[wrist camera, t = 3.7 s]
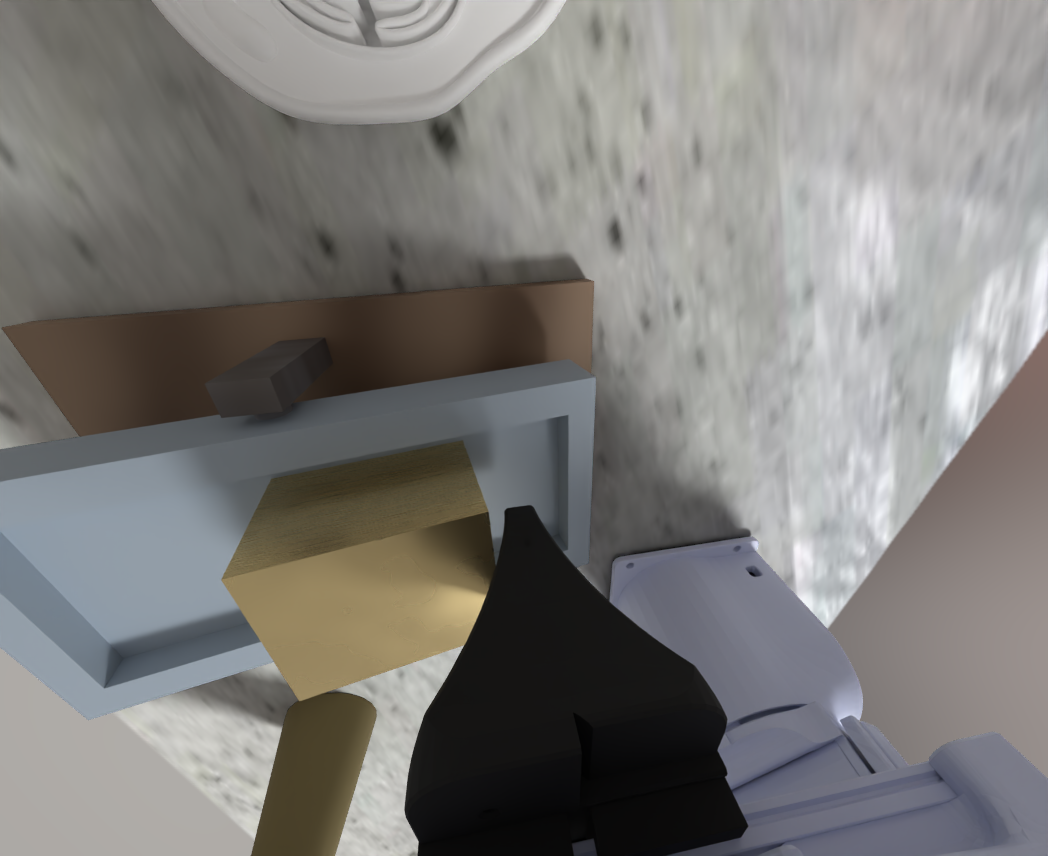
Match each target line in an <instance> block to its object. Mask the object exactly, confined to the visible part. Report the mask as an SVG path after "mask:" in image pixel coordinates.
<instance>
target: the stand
mask: <svg viewBox="0 0 1048 856" xmlns="http://www.w3.org/2000/svg"><path fill="white" fill-rule="evenodd" d="M593 296H594V281H591V280H589V279H576V280H563V281H550V282H537V283H524V284H511V285H498V286H485V287H472V288H459V289H446V290H433V291H420V292H407V293H394V294H381V295H368V296H355V297H342V298H329V299H316V300H303V301H290V302H278V303H265V304H252V305H239V306H226V307H213V308H200V309H187V310H174V311H161V312H148V313H135V314H122V315H109V316H96V317H83V318H70V319H57V320H44V321H32V322H27V323H22V324H17V325H12V326H7V327H2V329H3V331H4V332H5V333H6V335H7V336H8V338H9V339H10V340H11V342H12V343H13V345H14V346H15V347H16V349H17V350H18V352H19V353H20V354H21V356H22V357H23V358H24V360H25V361H26V363H27V364H28V365H29V367H30V368H31V370H32V371H33V372H34V374H35V375H36V377H37V378H38V379H39V381H40V382H41V384H42V385H43V386H44V388H45V389H46V391H47V392H48V393H49V395H50V396H51V397H52V399H53V400H54V402H55V403H56V404H57V406H58V407H59V409H60V410H61V411H62V413H63V414H64V416H65V417H66V418H67V420H68V421H69V423H70V424H71V425H72V427H73V428H74V429H75V431H76V432H77V434H78V435H79V436H80V437H81V436H88V435H94V434H100V433H107V432H113V431H119V430H126V429H132V428H138V427H144V426H151V425H157V424H163V423H170V422H176V421H182V420H189V419H195V418H201V417H207V416H214V415H220V416H221V418H227V417H237V416H246V415H256V414H265V413H275V412H283V411H284V410H285V409H286V408H288V407H289V406H290V405H291V404H292V403H296V402H302V401H308V400H315V399H321V398H327V397H333V396H340V395H346V394H352V393H359V392H365V391H371V390H378V389H384V388H390V387H396V386H403V385H409V384H415V383H422V382H428V381H434V380H441V379H447V378H453V377H459V376H466V375H472V374H478V373H485V372H491V371H497V370H504V369H510V368H516V367H522V366H529V365H535V364H541V363H548V362H554V361H560V360H567V359H570V360H571V361H573V362H574V363H576V364H577V365H579V366H580V367H582V368H583V369H585V370H586V371H588V372H589V373H591V358H592V327H593Z"/></svg>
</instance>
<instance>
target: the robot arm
mask: <svg viewBox="0 0 1048 856" xmlns="http://www.w3.org/2000/svg"><path fill="white" fill-rule="evenodd" d="M504 516H505V518H504V531H503V537H502V543H501V547H500V552H499V556H498V560H497V564H496V567H495V570H494V574H493V577H492V580H491V583H490V586H489V589H488V592H487V595H486V597H485V600H484V603H483V605H482V608H481V610H480V613H479V615H478V617H477V619H476V622H475V624H474V626H473V628H472V631H471V633H470V635H469V637H468V639H467V641H466V643H465V645H464V647H463V649H462V651H461V653H460V654H459V656H458V658H457V660H456V662H455V664H454V666H453V668H452V670H451V671H450V673H449V675H448V677H447V678H446V680H445V682H444V683H443V685H442V687H441V688H440V690H439V691H438V693H437V695H436V696H435V698H434V700H433V701H432V703H431V704H430V706H429V708H428V709H427V711H426V713H425V715H424V718H423V721H422V724H421V727H420V730H419V733H418V736H417V740H416V743H415V747H414V750H413V754H412V758H411V763H410V768H409V773H408V781H407V790H406V800H405V815H406V818H407V820H408V822H409V824H410V826H411V828H412V830H413V832H414V834H415V835H416V837H417V839H418V841H419V845H418V856H1048V778H1047V777H1046V776H1045V775H1044V774H1042V773H1041V772H1040V771H1039V770H1038V769H1037V768H1036V767H1035V766H1034V765H1033V764H1032V763H1031V762H1030V761H1029V760H1027V759H1026V758H1025V757H1024V756H1023V755H1022V754H1021V753H1020V752H1019V751H1018V750H1017V749H1016V748H1015V747H1014V746H1012V745H1011V744H1010V743H1009V742H1008V741H1007V740H1006V739H1005V738H1004V737H1003V736H1002V735H1001V734H999V733H996V732H989V733H985V734H980V735H976V736H971V737H967V738H962V739H958V740H954V741H952V742H948V743H946V744H944V745H942V746H941V747H940V748H938V749H936V750H935V751H934V752H933V753H932V755H931V756H930V757H929V761H926V762H922V763H918V764H913V765H908V763H907V762H906V761H905V760H904V759H903V758H902V756H901V755H900V754H899V753H898V751H896V749H895V748H894V747H893V746H892V745H891V743H890V742H889V741H888V740H887V738H886V737H885V736H884V735H883V734H882V733H881V731H880V730H879V729H878V728H877V727H876V726H874V725H871V724H869V723H866V722H863V721H861V722H860V721H859V720H860V718H861V714H862V709H863V698H862V691H861V687H860V683H859V680H858V678H857V675H856V673H855V671H854V669H853V667H852V665H851V663H850V661H849V659H848V657H847V655H846V654H845V652H844V650H843V649H842V647H841V646H840V645H839V643H838V642H837V640H836V639H835V638H834V636H833V635H832V634H831V633H830V632H829V630H828V629H827V628H826V627H825V626H824V625H823V624H822V623H821V622H820V620H819V619H818V618H817V617H816V616H815V615H814V614H813V613H812V612H811V611H810V610H809V608H808V607H807V606H806V605H805V604H804V603H803V602H802V601H801V600H800V599H799V598H798V597H797V595H796V594H795V593H794V592H793V591H792V590H791V589H790V588H789V587H788V586H787V585H786V584H785V582H784V581H783V580H782V579H781V578H780V577H779V576H778V575H777V574H776V573H775V572H774V571H773V569H772V568H771V567H770V566H769V565H768V564H767V563H766V562H765V561H764V560H763V559H762V557H761V556H760V555H759V554H758V553H757V552H756V551H757V548H758V545H759V542H758V541H757V540H756V539H755V538H754V537H743V538H737V539H731V540H724V541H718V542H711V543H705V544H698V545H692V546H686V547H679V548H673V549H666V550H660V551H654V552H647V553H641V554H634V555H628V556H622V557H618V558H616V559H615V560H614V561H613V564H612V576H611V588H610V600H609V601H608V600H607V599H606V598H605V597H604V596H603V595H602V594H601V593H600V592H599V591H598V590H597V589H596V588H595V587H594V586H593V585H592V584H591V583H590V582H589V581H588V580H587V579H586V578H585V577H584V576H583V575H582V574H581V572H580V571H579V570H578V569H577V568H576V567H575V566H574V564H573V563H572V562H571V561H570V560H569V559H568V557H567V556H566V555H565V554H564V552H563V551H562V550H561V548H560V547H559V546H558V545H557V543H556V542H555V541H554V539H553V538H552V536H551V535H550V534H549V532H548V531H547V529H546V528H545V526H544V524H543V523H542V521H541V520H540V518H539V516H538V514H537V512H536V511H535V508H534V507H533V506H532V505H526V506H519V507H511V508H507V509H506V510H505V511H504Z"/></svg>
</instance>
